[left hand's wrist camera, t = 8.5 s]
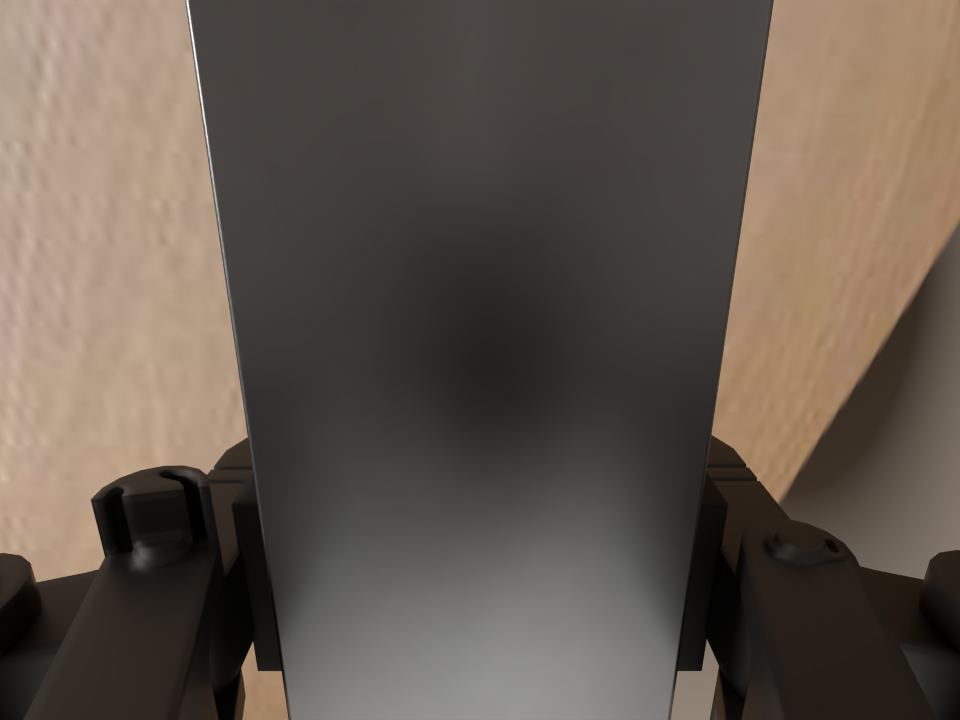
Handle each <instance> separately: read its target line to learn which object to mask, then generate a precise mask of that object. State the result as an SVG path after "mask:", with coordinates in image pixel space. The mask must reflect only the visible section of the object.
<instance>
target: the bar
mask: <svg viewBox="0 0 960 720" xmlns="http://www.w3.org/2000/svg"><path fill="white" fill-rule="evenodd" d="M773 1H774V0H185V2H186V9H187V16H188V23H189V30H190V37H191V44H192V51H193V58H194V65H195V72H196V78H197V85H198V92H199V99H200V106H201V113H202V120H203V127H204V134H205V141H206V148H207V155H208V162H209V169H210V176H211V183H212V190H213V197H214V204H215V211H216V217H217V224H218V231H219V238H220V245H221V252H222V259H223V266H224V273H225V280H226V287H227V294H228V301H229V308H230V315H231V322H232V329H233V336H234V343H235V350H236V357H237V363H238V370H239V377H240V384H241V391H242V398H243V405H244V412H245V419H246V426H247V433H248V440H249V447H250V454H251V461H252V468H253V475H254V482H255V489H256V496H257V502H258V509H259V516H260V523H261V530H262V537H263V544H264V551H265V558H266V565H267V572H268V579H269V586H270V593H271V600H272V607H273V614H274V621H275V628H276V635H277V641H278V648H279V655H280V662H281V669H282V676H283V683H284V690H285V697H286V704H287V711H288V718H289V720H670V719H671V712H672V705H673V698H674V691H675V684H676V678H677V671H678V664H679V657H680V650H681V643H682V636H683V629H684V622H685V615H686V608H687V601H688V594H689V587H690V580H691V573H692V566H693V559H694V552H695V545H696V538H697V531H698V524H699V517H700V510H701V503H702V496H703V489H704V482H705V475H706V468H707V461H708V454H709V447H710V440H711V433H712V426H713V419H714V413H715V406H716V399H717V392H718V385H719V378H720V371H721V364H722V357H723V350H724V343H725V336H726V329H727V322H728V315H729V308H730V301H731V294H732V287H733V280H734V273H735V266H736V259H737V252H738V245H739V238H740V231H741V224H742V217H743V210H744V203H745V196H746V189H747V182H748V175H749V168H750V161H751V154H752V148H753V141H754V134H755V127H756V120H757V113H758V106H759V99H760V92H761V85H762V78H763V71H764V64H765V57H766V50H767V43H768V36H769V29H770V22H771V15H772V8H773Z"/></svg>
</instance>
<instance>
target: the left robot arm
mask: <svg viewBox="0 0 960 720" xmlns="http://www.w3.org/2000/svg"><path fill="white" fill-rule="evenodd" d="M91 503H92V506H93V510H94V514H95V518H96V522H97V526H98V530H99V534H100V538H101V542H102V546H103V550H104V554H105V559H104V561H103V563H102V565H101V566H100V568H99V569H98V570H94V571H91V572H87V573H82V574H77V575H72V576H67V577H62V578H57V579H52V580H47V581H42V582H37V583H36V580H35V577H34V573H33V570H32V567H31V563H30V562H28V561H27V560H26V559H25V558H23V557H22V556H20V555H13V554H6V553H1V554H0V720H242V718H243V710H244V703H245V689H244V681H243V676H242V670H241V667H242V665H243V662H244V660H245V658H246V656H247V653H248V651H249V649H250V647H251V644H252V642H253V643H254V649H255V655H256V661H257V668H258V671H282V669H281V662H280V655H279V648H278V641H277V635H276V628H275V621H274V614H273V607H272V600H271V593H270V586H269V579H268V572H267V565H266V558H265V551H264V544H263V537H262V530H261V523H260V516H259V509H258V502H257V496H256V489H255V482H254V475H253V468H252V461H251V454H250V447H249V440H248V438H246V439H244V440H243V441H241V442H240V443H238V444H236V445H235V446H233V447H232V448H230V449H228V450H227V451H226V452H225V453H224V454H223V456H222V457H221V458H220V459H219V461H218V462H217V463H216V464H215V466H214V470H211V471H210V472H209V473H208V475H206V474H205V473H203V472H202V471H201V470H200V469H196V468H192V467H187V466H161V467H156V468H151V469H145V470H141V471H138V472H135V473H132V474H130V475H127V476H124V477H121V478H119V479H117V480H116V481H114V482H112V483H110V484H109V485H107V486H105V487H103V488H102V489H101V490H100V491H99V492H98V493H97V494H96V495H95V496H94V497H93V498H92V499H91ZM706 640H708V642H709V644H710V647H711V649H712V651H713V653H714V655H715V658H716V660H717V662H718V664H719V670H718V676H717V682H716V687H715V693H714V699H713V704H712V710H711V716H710V720H960V550H954V551H948V552H941V553H938V554H937V555H936V556H935V557H933V558H932V559H931V560H930V562H929V565H928V568H927V572H926V575H925V578H924V580H922V579H917V578H912V577H907V576H902V575H897V574H892V573H887V572H882V571H877V570H872V569H869V568H865V567H861V566H860V565H859V563H858V561H857V559H856V557H855V556H854V555H853V553H852V552H851V551H850V550H849V548H848V547H847V546H846V545H845V544H844V543H843V542H841V541H840V540H839V539H837V538H836V537H834V536H833V535H831V534H830V533H828V532H826V531H824V530H822V529H819V528H817V527H814V526H812V525H810V524H807V523H803V522H799V521H794V520H790V519H789V517H788V516H787V515H786V514H785V512H784V511H783V510H782V509H781V507H780V506H779V505H778V504H777V502H776V501H775V500H774V499H773V497H772V496H771V495H770V494H769V492H768V491H767V490H766V489H765V487H764V486H763V485H762V484H761V482H760V481H757V477H756V476H755V475H754V474H753V472H752V471H751V470H750V469H749V468H746V464H745V462H744V461H743V460H742V459H741V457H740V456H739V455H738V454H737V452H736V451H735V450H734V449H733V448H732V447H730V446H729V445H727V444H725V443H724V442H722V441H720V440H719V439H717V438H716V437H714V436H712V435H711V440H710V447H709V454H708V461H707V468H706V475H705V482H704V489H703V496H702V503H701V510H700V517H699V524H698V531H697V538H696V545H695V552H694V559H693V566H692V573H691V580H690V587H689V594H688V601H687V608H686V615H685V622H684V629H683V636H682V643H681V650H680V657H679V664H678V671H702V665H703V659H704V652H705V646H706Z"/></svg>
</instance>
